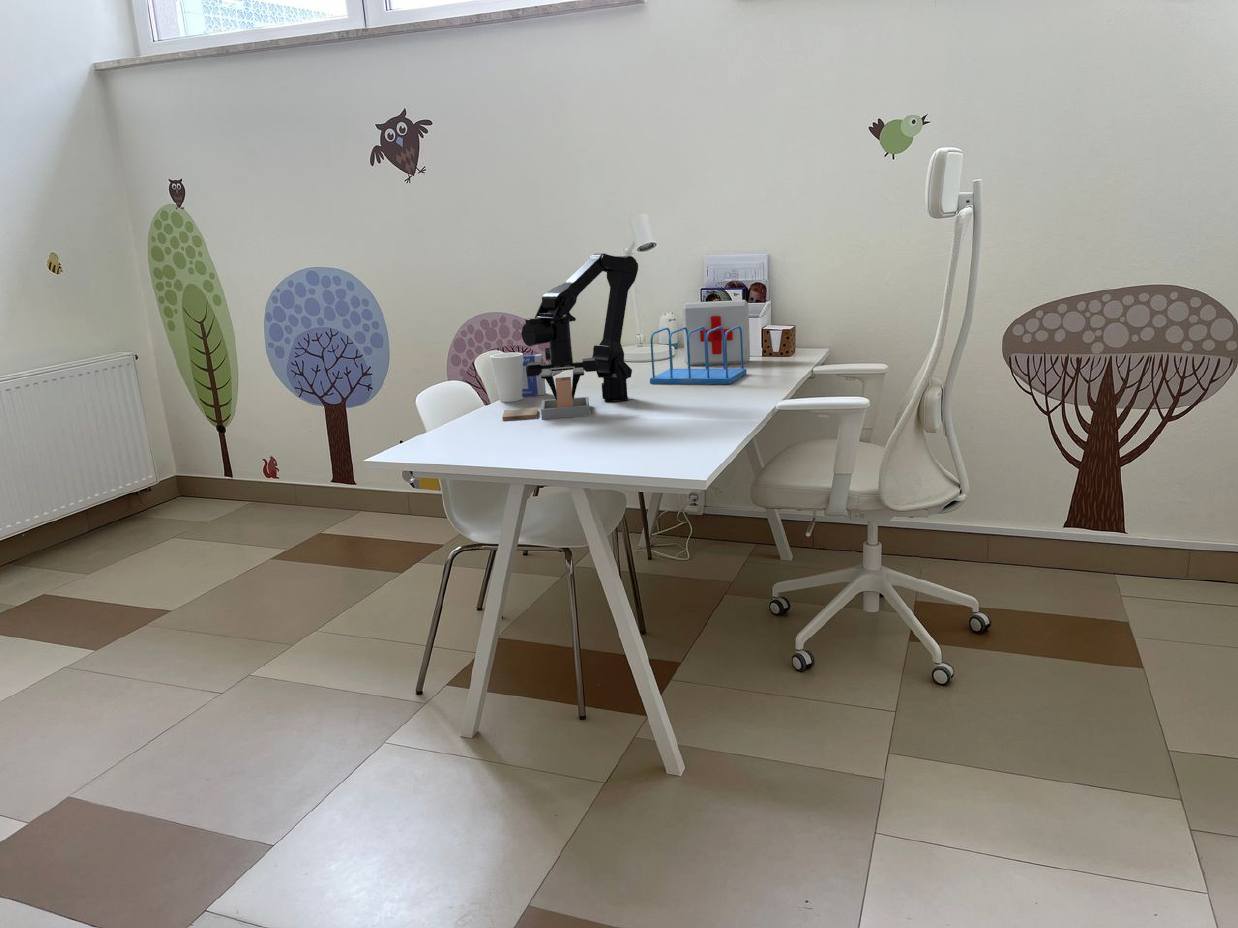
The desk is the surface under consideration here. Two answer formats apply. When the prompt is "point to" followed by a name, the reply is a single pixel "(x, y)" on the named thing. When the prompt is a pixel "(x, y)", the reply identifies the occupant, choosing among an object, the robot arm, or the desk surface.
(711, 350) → the bevelled white case
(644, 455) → the desk surface
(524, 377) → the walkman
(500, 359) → the foam cup
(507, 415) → the coaster
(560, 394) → the block
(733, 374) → the file sorter
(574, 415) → the tray
